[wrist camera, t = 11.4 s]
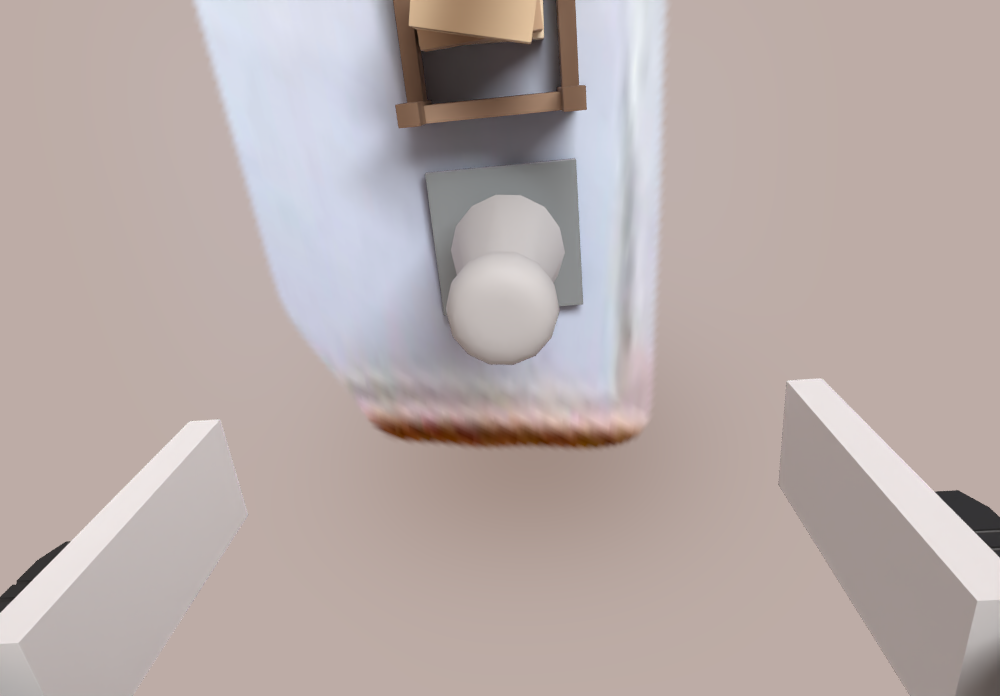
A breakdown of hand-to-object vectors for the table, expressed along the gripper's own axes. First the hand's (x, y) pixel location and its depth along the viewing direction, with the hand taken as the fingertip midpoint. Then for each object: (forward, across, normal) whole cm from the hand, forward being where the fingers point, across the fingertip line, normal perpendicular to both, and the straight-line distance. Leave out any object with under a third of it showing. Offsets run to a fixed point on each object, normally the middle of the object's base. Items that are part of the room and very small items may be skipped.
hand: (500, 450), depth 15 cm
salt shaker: (+22, 0, 0) cm, 22 cm away
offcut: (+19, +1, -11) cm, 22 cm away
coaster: (+23, 0, 0) cm, 23 cm away
